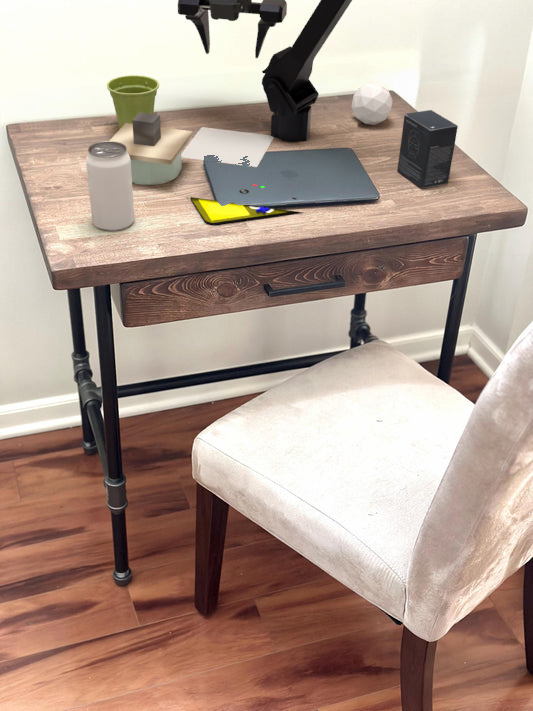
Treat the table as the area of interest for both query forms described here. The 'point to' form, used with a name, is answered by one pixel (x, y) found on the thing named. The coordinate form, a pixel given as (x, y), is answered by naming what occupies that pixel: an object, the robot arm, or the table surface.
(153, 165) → the bowl
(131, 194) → the can
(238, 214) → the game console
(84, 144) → the table surface
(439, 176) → the box
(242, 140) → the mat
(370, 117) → the geometric ball
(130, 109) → the plant pot
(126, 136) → the lid
